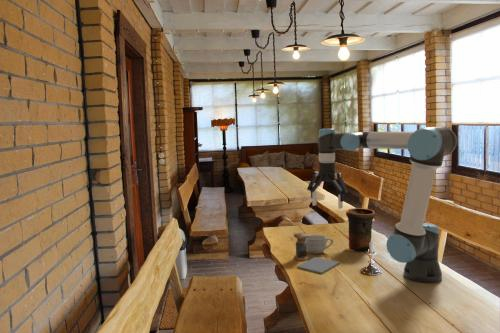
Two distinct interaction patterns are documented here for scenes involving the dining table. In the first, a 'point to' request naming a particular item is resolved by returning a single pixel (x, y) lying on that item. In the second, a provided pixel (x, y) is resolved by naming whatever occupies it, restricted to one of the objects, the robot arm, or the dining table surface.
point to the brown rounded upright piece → (301, 247)
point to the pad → (318, 265)
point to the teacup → (317, 243)
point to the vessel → (359, 229)
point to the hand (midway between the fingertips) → (327, 206)
